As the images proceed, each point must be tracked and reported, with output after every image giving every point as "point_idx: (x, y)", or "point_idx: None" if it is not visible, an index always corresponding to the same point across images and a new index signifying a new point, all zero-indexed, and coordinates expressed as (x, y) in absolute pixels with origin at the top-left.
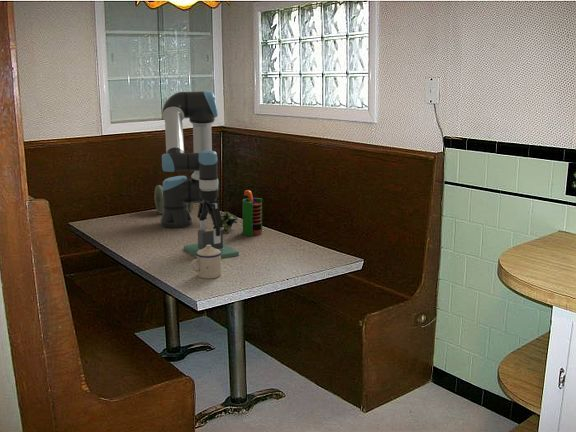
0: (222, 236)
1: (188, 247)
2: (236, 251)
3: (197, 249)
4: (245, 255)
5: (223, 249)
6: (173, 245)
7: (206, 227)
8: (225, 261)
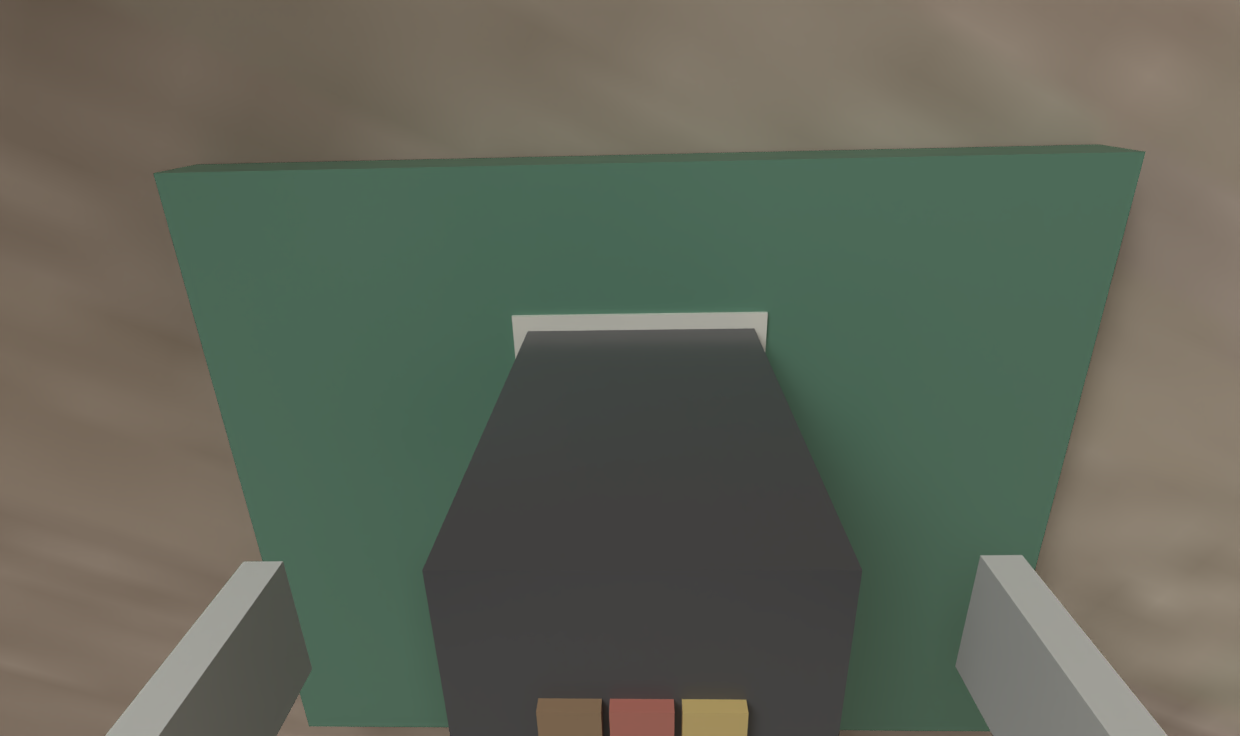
0: (805, 452)
1: (418, 708)
2: (1090, 182)
3: None
4: (1200, 23)
5: (807, 342)
6: (106, 718)
7: (175, 723)
8: (1199, 468)
